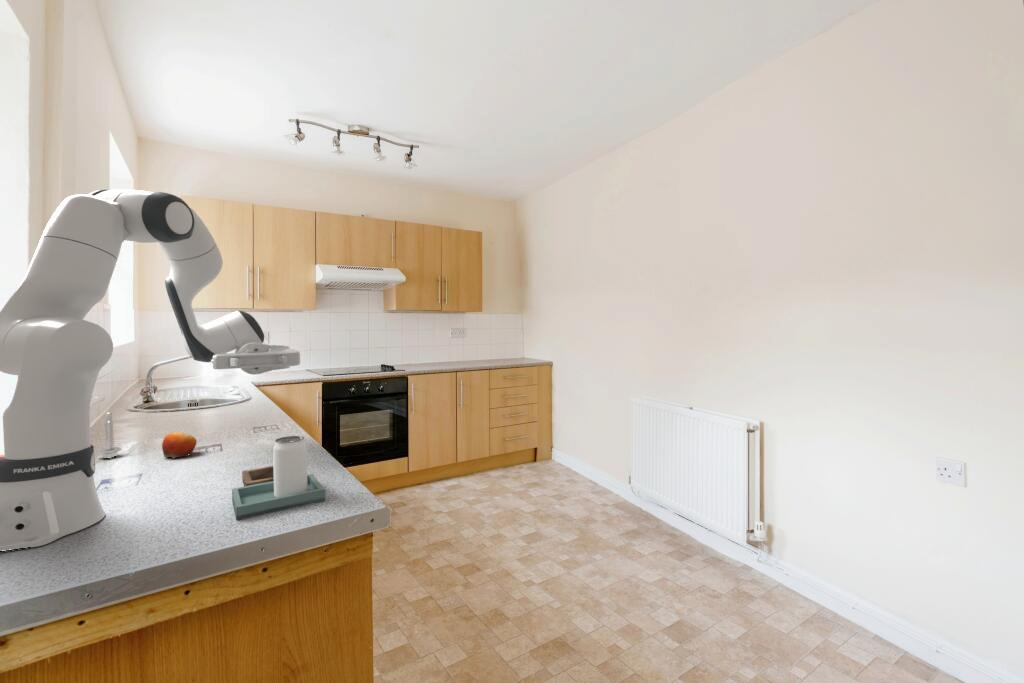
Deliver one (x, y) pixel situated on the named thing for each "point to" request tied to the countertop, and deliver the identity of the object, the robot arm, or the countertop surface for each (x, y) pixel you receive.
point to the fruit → (178, 444)
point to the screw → (109, 438)
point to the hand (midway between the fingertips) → (261, 361)
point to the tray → (273, 498)
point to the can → (289, 466)
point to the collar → (257, 476)
